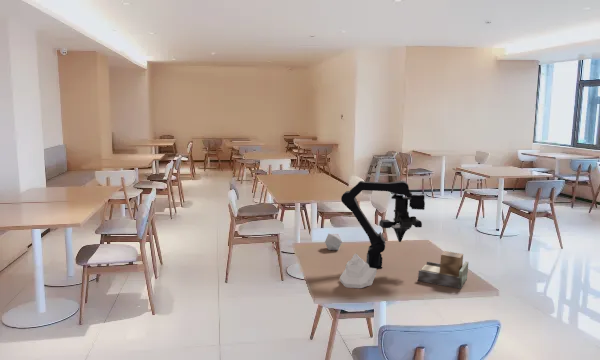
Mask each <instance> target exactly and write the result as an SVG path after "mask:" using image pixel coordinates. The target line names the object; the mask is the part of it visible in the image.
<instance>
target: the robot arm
mask: <svg viewBox="0 0 600 360" xmlns="http://www.w3.org/2000/svg"><path fill="white" fill-rule="evenodd" d="M362 191H372V192H373V191H375V192H376V191H377V192H389V193H392V194H393V195H392V196H391V199H393V200H394V201H395V202H394V203H395V204H394V209H393V212H394V217H393V221H391V220H389V219H380V220H379V223H378V225H379V226H380V227H381V228H382V229H391V228H392V229H393V231H394V233H395V235H396V238H397V241H398V242H399V243H401V242H402V240H403V238H404V236H405V234H406V232H407V231H408V230H410V229H411V228H412V227H413V226H414V227H415V228H422V227H423V222H422V221H421V220H419V219H418V218H417V217H416V216H410V215H409V211H408V207H410V208H411V210H417V211H418V210H420V211H421V210H422V211H425V208H426V207H425V205H426V202H425V194H413V192H412V191H410V188H409V184H408V182H406V181H405V180H398V181H396V180H395V181H391V182H384V181H382V182H377V181H376V182H375V181H363V180H360V181H358V183H356V185H355V186H353V187H352V188H351V189H350V190H346V191H345V192H343V194H342V195H341V198H340V199H341V202H342V204H344V205H345V207H346V208H347V209H348V210H350V211H351V213H352V214H353V216H354V217H355V219H356V220H357V222H358V223H359V224H360V226H361V228H362V229H363V231H364V232H365V234H366V235H367V237H368V240H369V242H370V245H369V246H368V249H367V253H366V260H365V262H366V263H367V264H369V267H370V268H376V269H383V257H382V255H383V254H382V253H383V252H384V251H385V249H386V238H385V237H384V236H383V234H382V232H379V233H378V232H377V231H376V230H375V228H374V227H373V225H372V224H371V222H370V221H369V219H368V218H367V217H366V215H365V213H364V212H363V211H362V208H361V207H360V205H359V202H358V200H357V197H358V195H359V194H360V193H361V192H362Z"/></svg>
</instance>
